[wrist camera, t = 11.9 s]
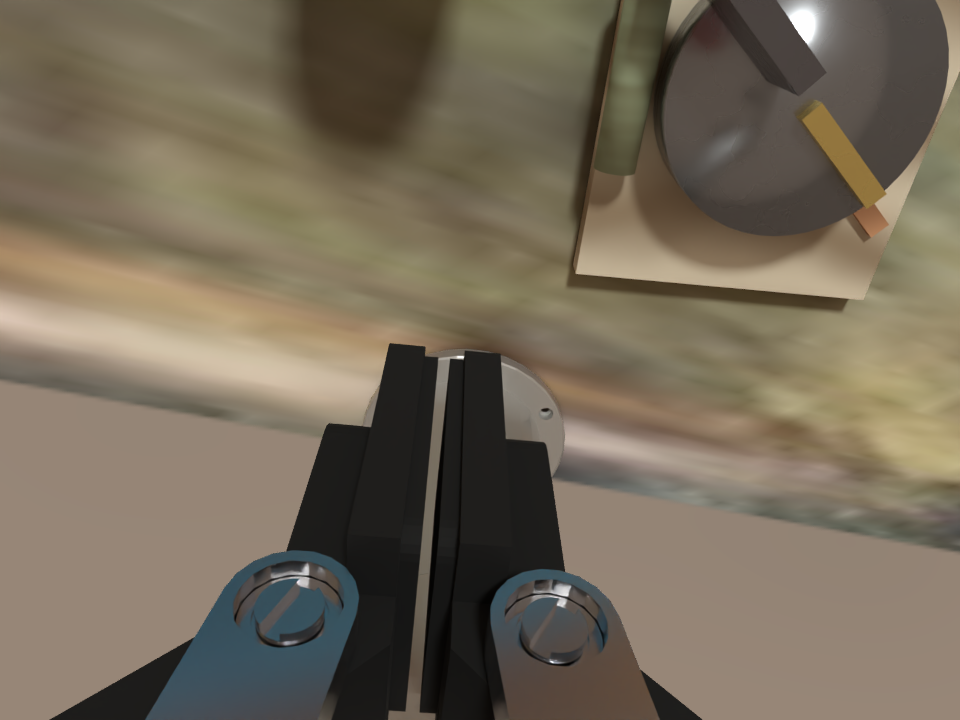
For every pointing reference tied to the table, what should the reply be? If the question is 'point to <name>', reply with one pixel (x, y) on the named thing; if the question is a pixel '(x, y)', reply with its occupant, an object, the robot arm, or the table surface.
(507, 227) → the table surface
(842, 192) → the disc
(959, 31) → the stand
